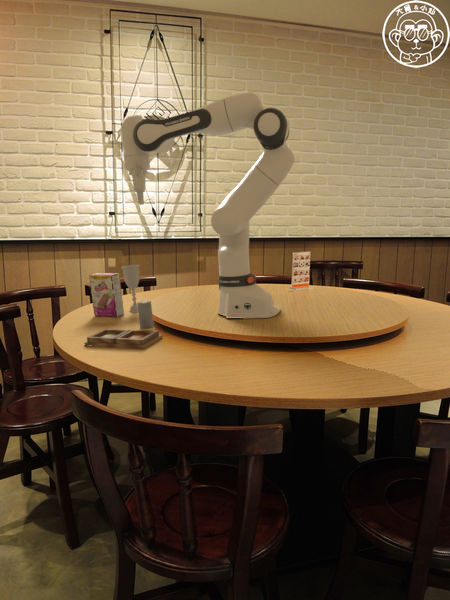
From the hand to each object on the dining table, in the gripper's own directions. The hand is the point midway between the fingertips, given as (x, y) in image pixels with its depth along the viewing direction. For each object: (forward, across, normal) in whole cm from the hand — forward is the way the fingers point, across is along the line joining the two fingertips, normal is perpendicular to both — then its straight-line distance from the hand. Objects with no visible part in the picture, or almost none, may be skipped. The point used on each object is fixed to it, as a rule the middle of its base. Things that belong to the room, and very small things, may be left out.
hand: (141, 204), depth 166 cm
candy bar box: (+41, +6, +17) cm, 45 cm away
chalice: (+41, +10, +7) cm, 43 cm away
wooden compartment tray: (+41, -32, +9) cm, 53 cm away
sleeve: (+41, -24, +2) cm, 47 cm away
